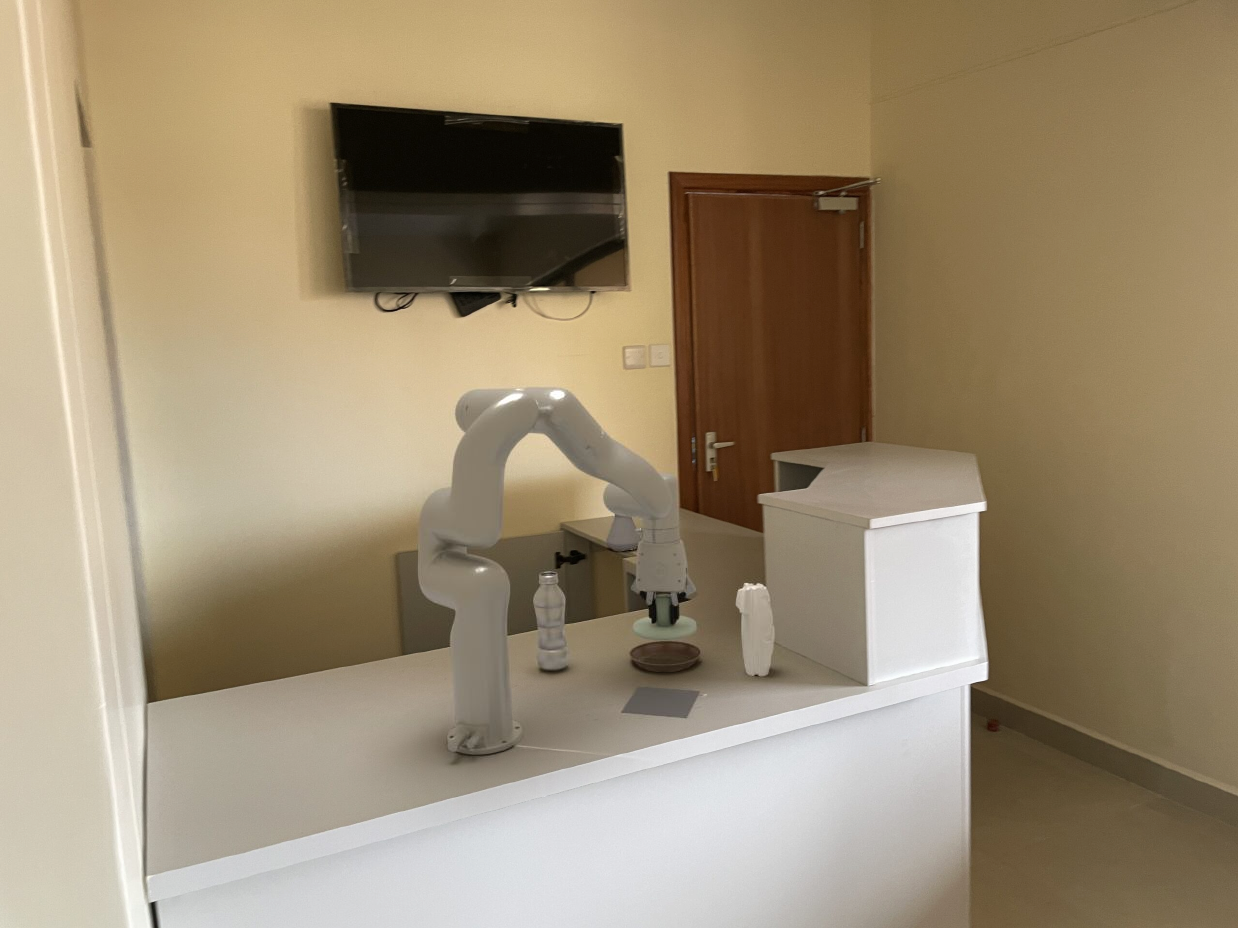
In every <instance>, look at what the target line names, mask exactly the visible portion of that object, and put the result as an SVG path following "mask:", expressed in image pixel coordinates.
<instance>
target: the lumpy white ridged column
mask: <svg viewBox="0 0 1238 928" xmlns="http://www.w3.org/2000/svg"><path fill="white" fill-rule="evenodd" d="M769 593H770V592H769V591H768V589H767V587H766V586H764V584H762V583H756V584H754V583H748V582H745V583H743V587H742V588H739V589H738V591H737V594H736V599H735V606H736V607H737V609H738V610H739V613H740V614H741V619H740V620H741V623H740V625H741V627H740V628H741V629H740V630H741V647H742V648H741V649H742V657H743V663H744V669H745V672H746V675H748V676H752V677H755V675H757V676H758V677H765V676H767V675H769V672H770V667H771V663H772V662H771V661H772V655H773V652H774V643H775V636H776V635H775V633H776V631H775V630H776V629H775V625H774V624H773V623H774V617H773V609H772V605H771V603H770V602H772V601H771V597H770V596H771V595H770V594H769Z"/></svg>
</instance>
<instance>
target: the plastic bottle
mask: <svg viewBox="0 0 1238 928" xmlns="http://www.w3.org/2000/svg"><path fill="white" fill-rule="evenodd" d="M538 579H539V580H538V584H539V587H538V589H537V590H536V591H535V593H534V595H533V608H534V612H535V615H536V616H535V617H536V624H537V625H536V626H537V630H538V631H537V633H538V634H537V649H536V660H537V665H538V666H539V667H540V668H541V670H545V671H559V670H562V669H565V668H567V666H568V664H569V660H570V651H569V648H568V645H567V639H566V632H565V631H566V630H565V613H566V612H565V611H566V596H565V594H564V592H563V591H562V588H561V587H560V586H558V583H559V579H558V572H556V571H545V572H540V573H539V574H538Z"/></svg>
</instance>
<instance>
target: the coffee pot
mask: <svg viewBox="0 0 1238 928" xmlns="http://www.w3.org/2000/svg"><path fill="white" fill-rule="evenodd" d="M636 529H638V528H637V526H636V524H635V521H634V520H633V517H627V516H621V515H617V514H614V519H613V521H612V524H611V527H610V530H609V532H608V535H607V536H606V544H607V546H608V547H609V548H610V549H611V550H612V551H614V552H621V553H622V550H631V549H634V548H636V549H637V548H638V544H639V542H640V541H641V540H642V537H641V536H639V535H636V534H635V530H636Z"/></svg>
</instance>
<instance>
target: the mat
mask: <svg viewBox="0 0 1238 928" xmlns="http://www.w3.org/2000/svg"><path fill="white" fill-rule="evenodd" d="M700 693H701V691H700V690H690V689H677V688H666V687H665V688H661V687H649V686H638V687H636V688H635V691H634V692H633V694H632V695H631V696H630V698H629V699H628V701H627V702H626V704H625V705H624V707H623V708H622V710H621V711H620V713H622V714H630V715H631V714H634V715H644V716H645V715H646V716H656V717H667V718H669V717H670V718H681V719H687V718H688V716H689V714H690V712H691V710H692V708H693V706H694V704H695V702H696V700H697V698H698V696H699V694H700Z"/></svg>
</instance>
